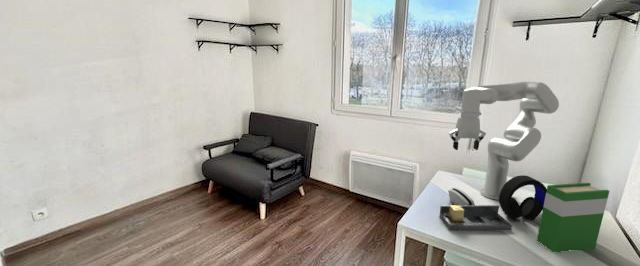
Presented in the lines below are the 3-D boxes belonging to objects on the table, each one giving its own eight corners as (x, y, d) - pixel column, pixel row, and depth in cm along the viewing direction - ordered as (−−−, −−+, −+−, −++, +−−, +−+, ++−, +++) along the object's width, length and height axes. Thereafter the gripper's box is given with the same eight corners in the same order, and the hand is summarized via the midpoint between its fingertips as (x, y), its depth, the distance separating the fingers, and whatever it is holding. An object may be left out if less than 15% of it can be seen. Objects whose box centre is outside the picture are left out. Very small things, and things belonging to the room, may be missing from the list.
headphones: (505, 223, 126) (511, 181, 121) (495, 215, 132) (501, 175, 127) (544, 221, 127) (552, 179, 122) (532, 214, 133) (540, 174, 129)
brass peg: (457, 221, 127) (459, 205, 126) (462, 226, 123) (464, 210, 121) (447, 221, 128) (449, 205, 126) (452, 226, 123) (454, 210, 121)
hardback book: (575, 237, 115) (588, 182, 110) (594, 248, 108) (609, 190, 102) (536, 241, 113) (547, 185, 107) (553, 252, 106) (566, 193, 100)
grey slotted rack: (495, 217, 131) (497, 205, 129) (511, 230, 120) (513, 218, 119) (439, 216, 131) (440, 205, 130) (449, 230, 121) (450, 217, 119)
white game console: (480, 215, 132) (476, 197, 130) (471, 219, 132) (467, 201, 130) (458, 199, 149) (454, 182, 146) (450, 202, 148) (446, 186, 146)
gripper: (483, 113, 138) (479, 147, 142) (447, 113, 139) (444, 147, 143) (492, 116, 131) (487, 151, 135) (454, 116, 131) (451, 151, 135)
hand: (465, 149), depth 139 cm, fingers open, 9 cm apart
